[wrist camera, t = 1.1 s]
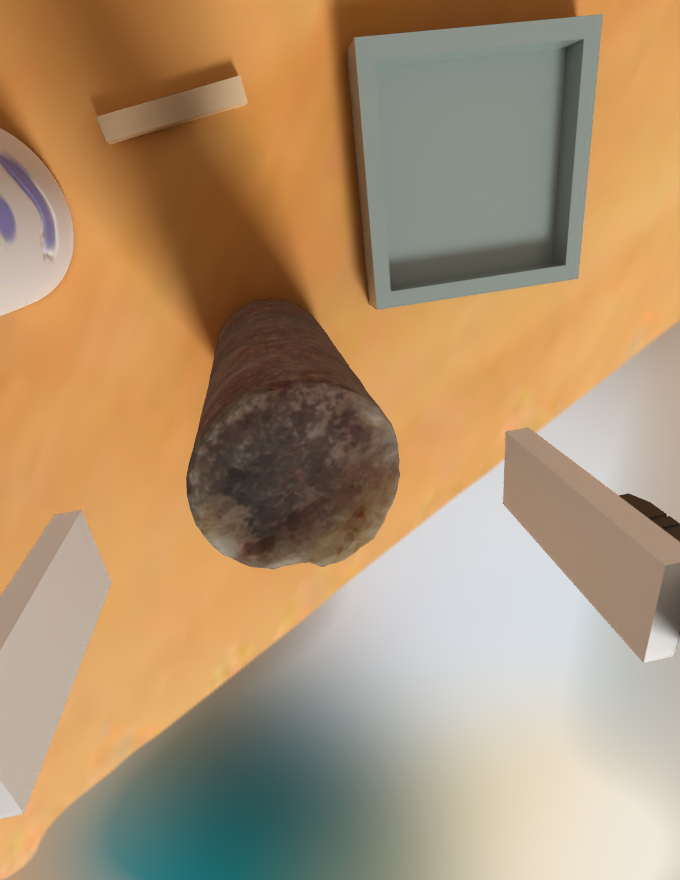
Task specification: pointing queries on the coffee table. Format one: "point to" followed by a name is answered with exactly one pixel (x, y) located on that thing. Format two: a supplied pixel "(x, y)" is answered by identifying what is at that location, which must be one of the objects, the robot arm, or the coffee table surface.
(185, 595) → the coffee table surface
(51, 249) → the container
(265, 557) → the dark brown cylinder
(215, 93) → the beige wooden bar
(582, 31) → the dish
